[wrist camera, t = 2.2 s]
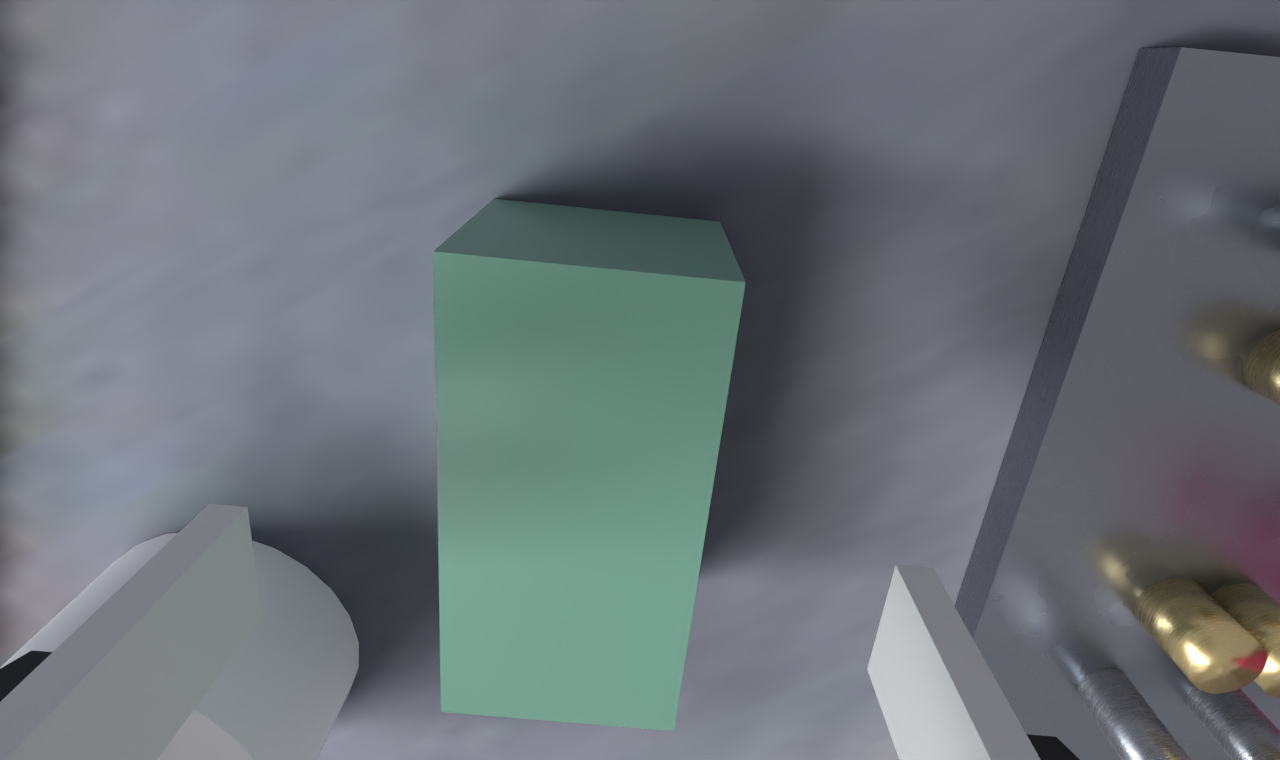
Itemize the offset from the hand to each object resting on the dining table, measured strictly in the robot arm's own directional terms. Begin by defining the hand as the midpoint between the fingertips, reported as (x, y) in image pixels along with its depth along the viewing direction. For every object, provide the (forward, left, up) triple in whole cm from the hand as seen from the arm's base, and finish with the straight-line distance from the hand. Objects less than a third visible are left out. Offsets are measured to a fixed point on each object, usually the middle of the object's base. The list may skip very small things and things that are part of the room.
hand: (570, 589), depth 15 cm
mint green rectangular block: (0, 0, -8) cm, 8 cm away
